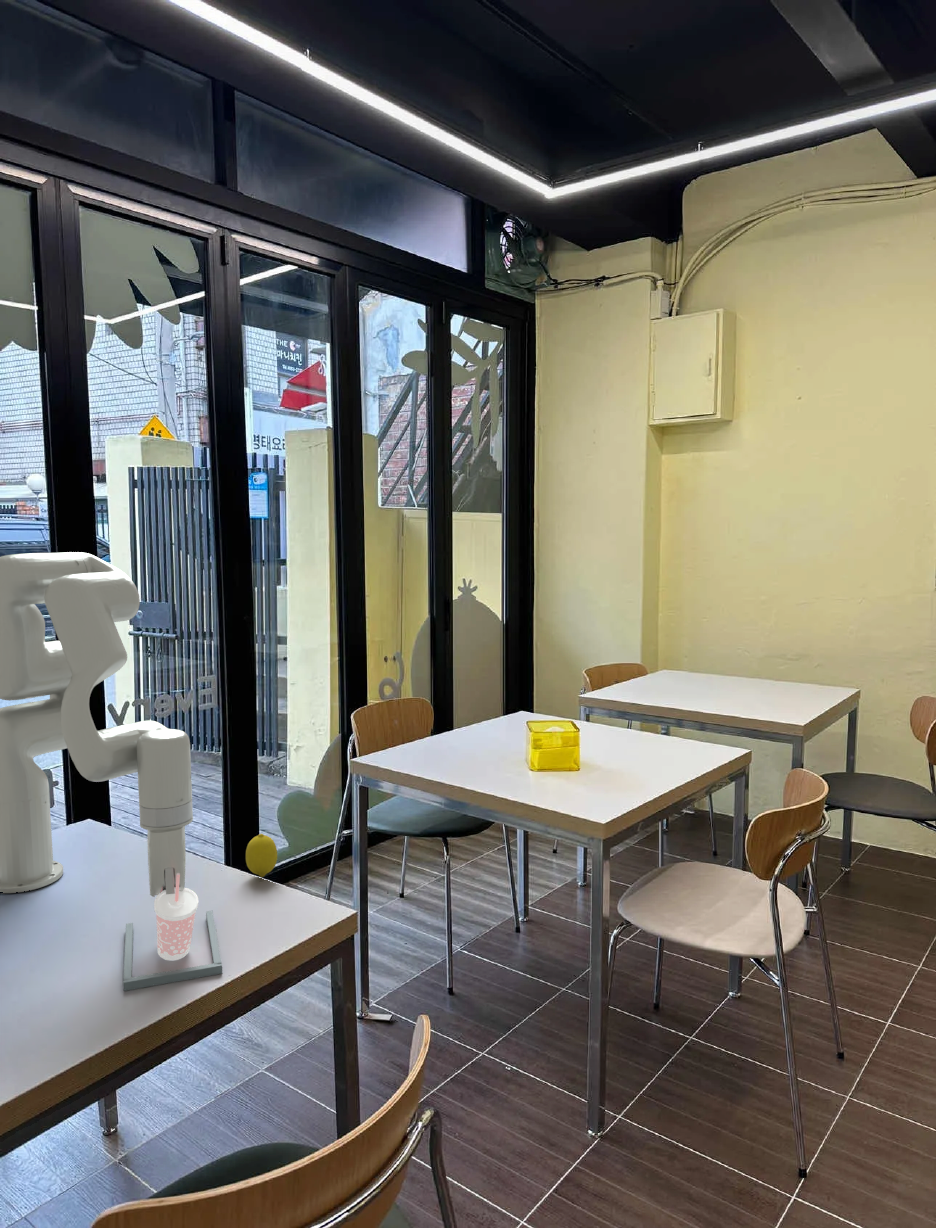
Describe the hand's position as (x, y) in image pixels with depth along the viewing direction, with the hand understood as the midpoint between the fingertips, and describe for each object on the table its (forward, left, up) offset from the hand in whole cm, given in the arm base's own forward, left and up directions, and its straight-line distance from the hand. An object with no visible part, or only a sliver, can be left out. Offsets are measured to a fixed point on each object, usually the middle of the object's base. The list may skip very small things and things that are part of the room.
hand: (171, 929), depth 131 cm
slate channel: (+3, 0, -2) cm, 4 cm away
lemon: (-20, +16, -2) cm, 26 cm away
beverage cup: (+4, 0, -1) cm, 4 cm away
